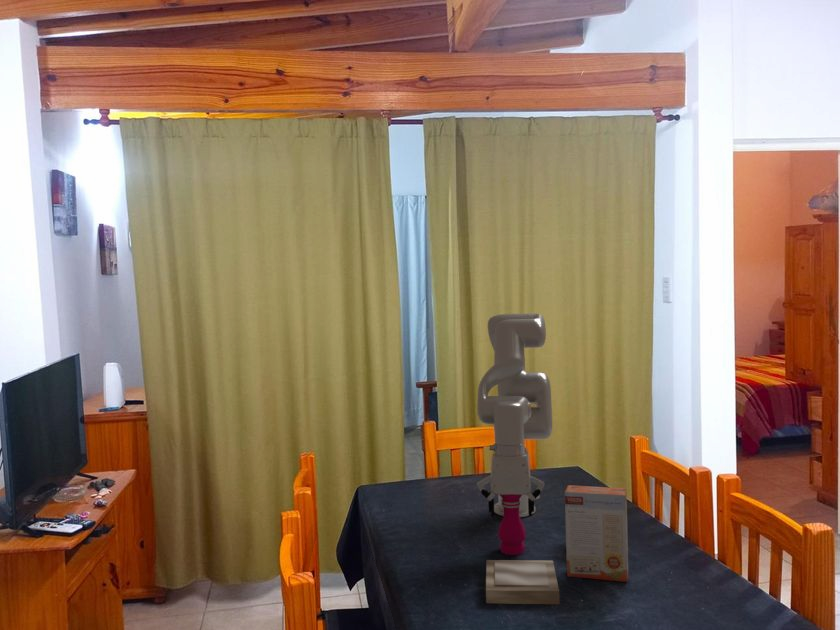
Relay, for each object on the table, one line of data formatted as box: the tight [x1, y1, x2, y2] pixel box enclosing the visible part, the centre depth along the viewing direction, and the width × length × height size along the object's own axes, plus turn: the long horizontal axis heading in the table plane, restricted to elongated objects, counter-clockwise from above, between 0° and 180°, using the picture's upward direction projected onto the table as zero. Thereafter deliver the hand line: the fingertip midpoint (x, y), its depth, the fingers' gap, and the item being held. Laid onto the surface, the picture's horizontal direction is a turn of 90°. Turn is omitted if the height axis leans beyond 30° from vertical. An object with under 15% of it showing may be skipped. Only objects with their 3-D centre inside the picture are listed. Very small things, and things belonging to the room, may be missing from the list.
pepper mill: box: [497, 495, 527, 556], centre depth 186 cm, size 7×7×20 cm
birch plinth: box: [485, 559, 560, 605], centre depth 165 cm, size 16×16×3 cm
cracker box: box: [564, 484, 629, 583], centre depth 170 cm, size 14×6×21 cm, turn 71°
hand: (511, 514), depth 185 cm, fingers open, 9 cm apart
